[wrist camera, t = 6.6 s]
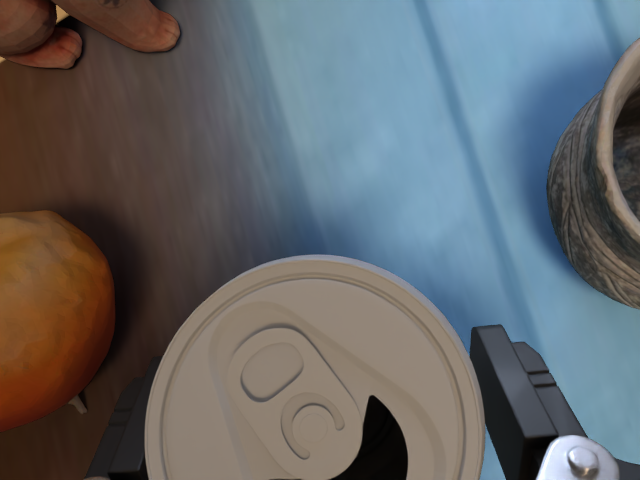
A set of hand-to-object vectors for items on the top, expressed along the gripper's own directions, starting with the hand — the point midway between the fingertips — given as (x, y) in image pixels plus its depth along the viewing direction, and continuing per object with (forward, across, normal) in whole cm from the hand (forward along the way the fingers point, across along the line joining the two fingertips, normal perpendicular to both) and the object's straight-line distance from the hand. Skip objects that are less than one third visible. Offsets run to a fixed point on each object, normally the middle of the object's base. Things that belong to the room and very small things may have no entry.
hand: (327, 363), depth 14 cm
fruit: (+7, +12, +3) cm, 14 cm away
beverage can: (+4, 0, +5) cm, 7 cm away
